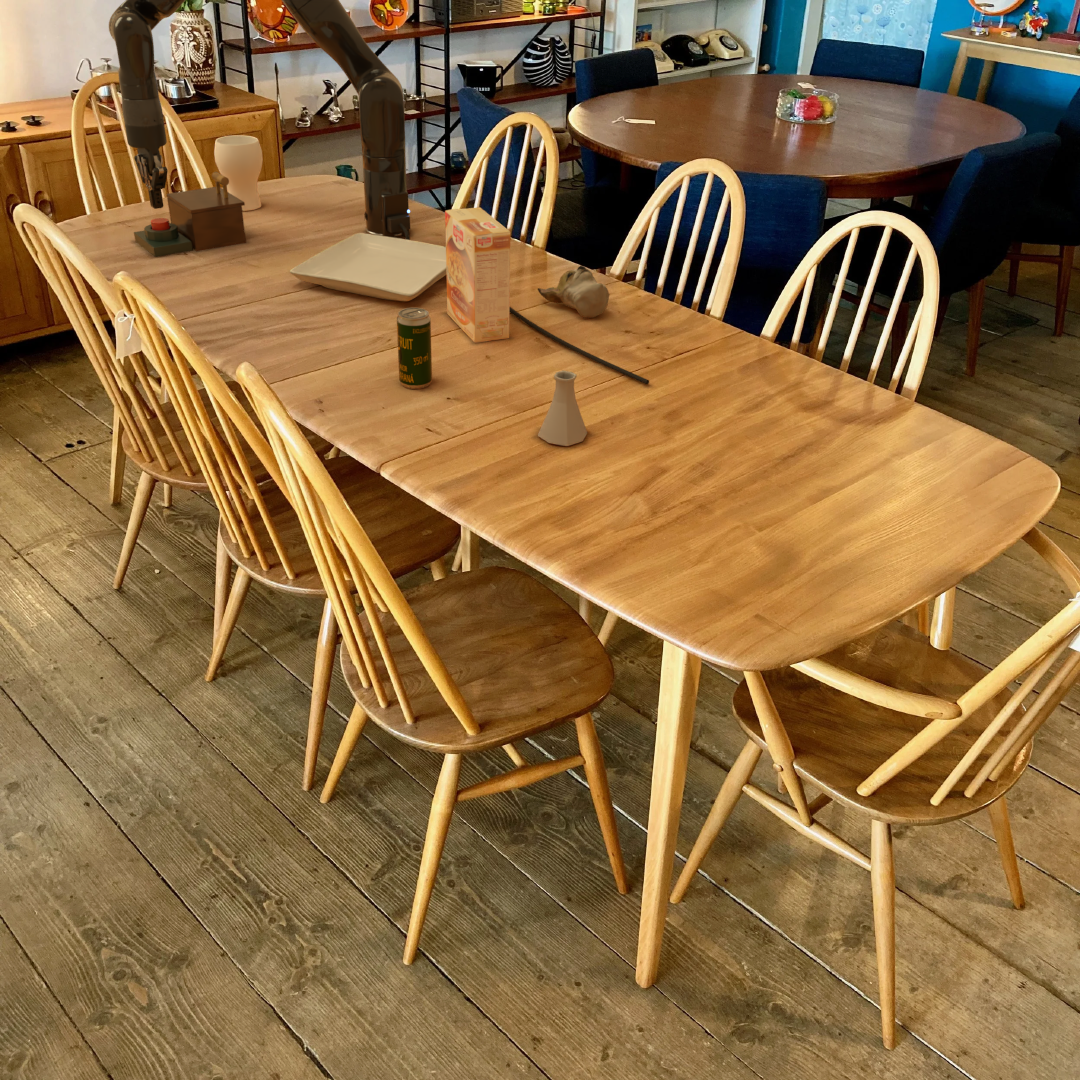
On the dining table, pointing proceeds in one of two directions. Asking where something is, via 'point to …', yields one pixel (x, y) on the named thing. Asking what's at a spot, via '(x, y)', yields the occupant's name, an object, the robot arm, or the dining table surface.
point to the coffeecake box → (478, 273)
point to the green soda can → (414, 348)
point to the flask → (563, 414)
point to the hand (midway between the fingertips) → (157, 207)
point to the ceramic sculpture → (579, 292)
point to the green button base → (163, 241)
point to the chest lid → (207, 197)
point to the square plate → (376, 266)
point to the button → (160, 224)
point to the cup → (240, 167)
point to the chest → (209, 226)
